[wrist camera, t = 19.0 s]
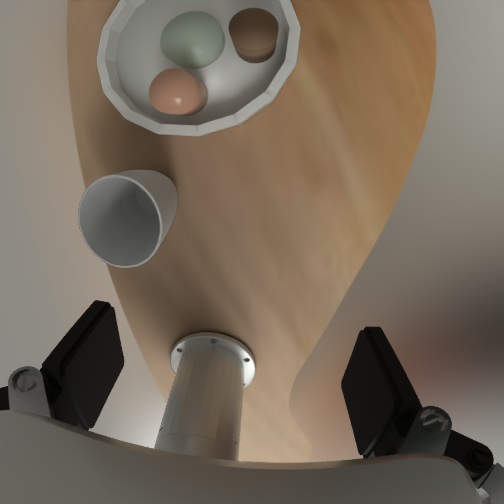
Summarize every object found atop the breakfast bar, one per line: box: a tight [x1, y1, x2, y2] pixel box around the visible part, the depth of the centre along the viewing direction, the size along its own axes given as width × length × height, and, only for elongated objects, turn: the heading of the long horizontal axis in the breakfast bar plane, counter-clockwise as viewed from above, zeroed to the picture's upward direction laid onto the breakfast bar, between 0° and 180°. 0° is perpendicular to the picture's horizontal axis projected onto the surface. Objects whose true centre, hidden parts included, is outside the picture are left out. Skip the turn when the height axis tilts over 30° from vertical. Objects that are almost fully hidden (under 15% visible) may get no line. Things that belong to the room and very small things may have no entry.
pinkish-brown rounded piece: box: [149, 68, 208, 116], centre depth 23 cm, size 4×4×6 cm
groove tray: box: [96, 0, 301, 136], centre depth 23 cm, size 20×20×4 cm
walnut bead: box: [229, 8, 279, 63], centre depth 21 cm, size 4×4×6 cm
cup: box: [78, 170, 178, 268], centre depth 27 cm, size 8×8×10 cm
